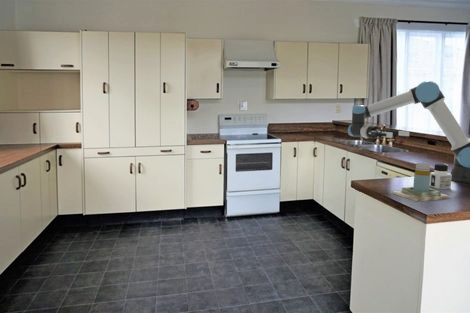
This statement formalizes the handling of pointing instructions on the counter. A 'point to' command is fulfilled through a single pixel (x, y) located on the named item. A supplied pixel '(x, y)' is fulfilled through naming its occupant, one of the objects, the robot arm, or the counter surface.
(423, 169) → the bottle
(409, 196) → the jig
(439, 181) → the container
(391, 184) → the counter surface
